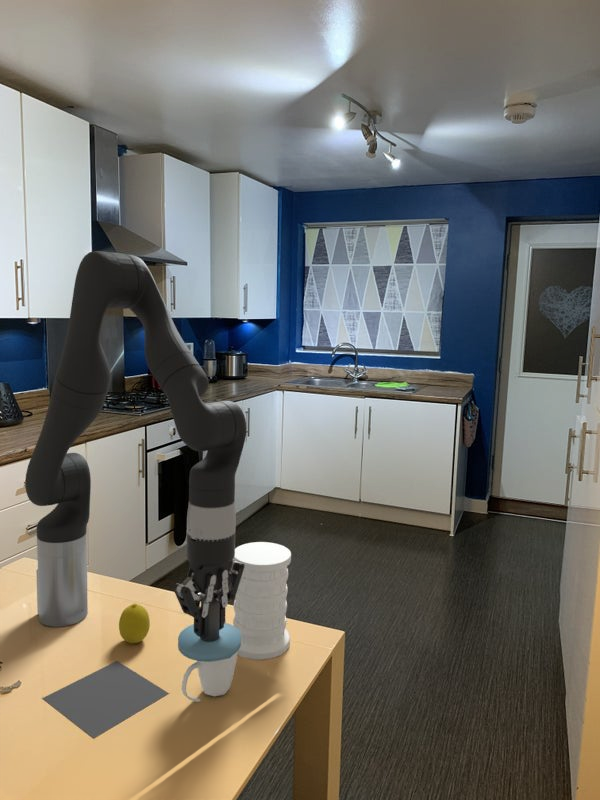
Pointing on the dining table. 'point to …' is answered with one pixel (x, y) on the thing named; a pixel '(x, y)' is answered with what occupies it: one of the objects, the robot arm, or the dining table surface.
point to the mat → (105, 698)
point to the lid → (210, 638)
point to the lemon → (134, 623)
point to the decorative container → (262, 600)
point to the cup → (212, 676)
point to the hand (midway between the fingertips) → (209, 631)
